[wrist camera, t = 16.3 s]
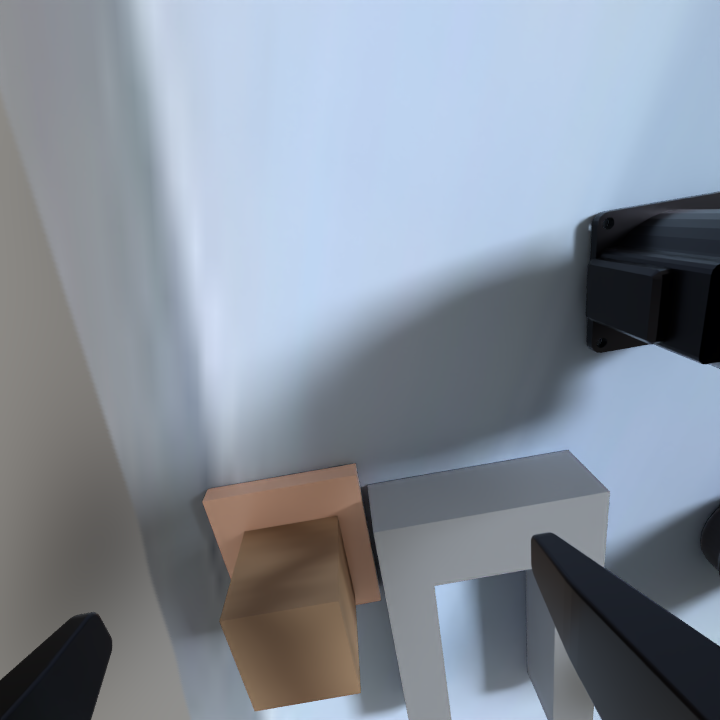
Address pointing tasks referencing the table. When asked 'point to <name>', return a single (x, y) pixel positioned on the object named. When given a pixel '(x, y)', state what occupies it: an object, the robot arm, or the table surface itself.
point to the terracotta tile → (298, 516)
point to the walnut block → (293, 615)
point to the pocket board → (483, 563)
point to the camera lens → (712, 540)
